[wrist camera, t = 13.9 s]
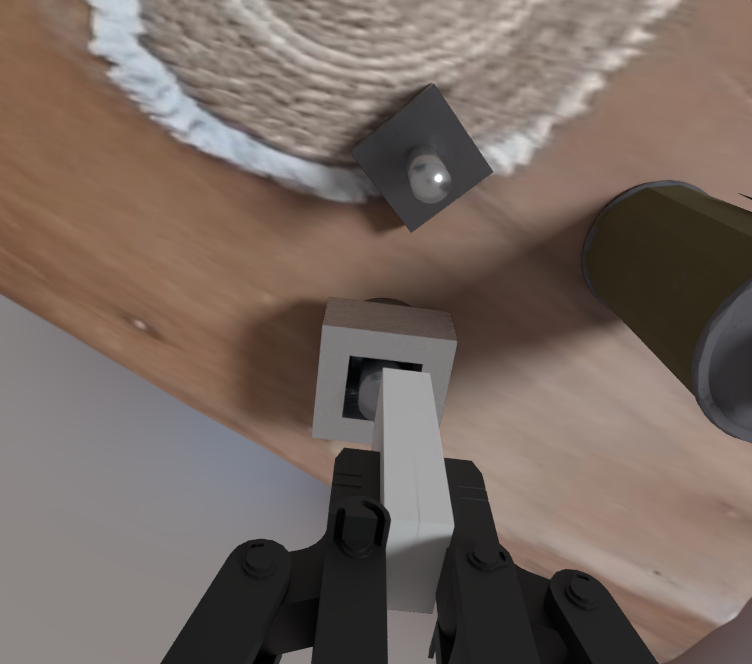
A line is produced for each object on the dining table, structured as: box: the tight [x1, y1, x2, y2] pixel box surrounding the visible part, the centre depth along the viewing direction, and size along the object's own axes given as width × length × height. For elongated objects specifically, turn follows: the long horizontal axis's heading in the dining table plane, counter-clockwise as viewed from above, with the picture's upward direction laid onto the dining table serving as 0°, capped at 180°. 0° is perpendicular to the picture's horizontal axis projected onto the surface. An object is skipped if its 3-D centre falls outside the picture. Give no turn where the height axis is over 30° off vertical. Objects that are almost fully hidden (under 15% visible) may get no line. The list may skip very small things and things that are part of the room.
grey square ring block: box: [312, 297, 458, 444], centre depth 42 cm, size 9×9×5 cm
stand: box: [350, 83, 493, 232], centre depth 36 cm, size 7×7×10 cm
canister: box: [582, 180, 752, 443], centre depth 34 cm, size 11×10×20 cm
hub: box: [346, 298, 413, 422], centre depth 42 cm, size 8×8×9 cm
